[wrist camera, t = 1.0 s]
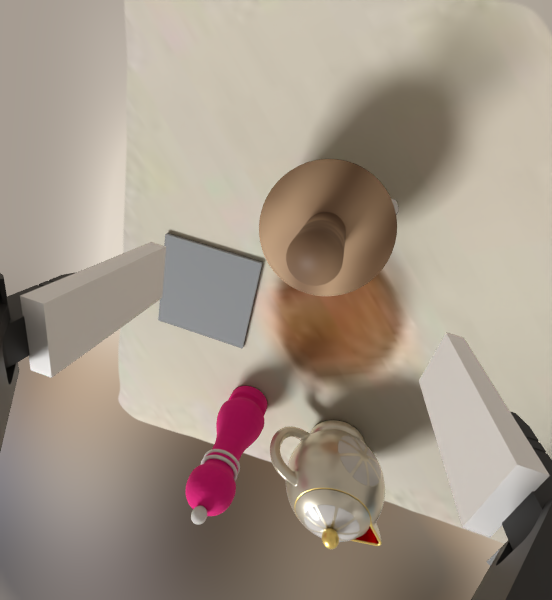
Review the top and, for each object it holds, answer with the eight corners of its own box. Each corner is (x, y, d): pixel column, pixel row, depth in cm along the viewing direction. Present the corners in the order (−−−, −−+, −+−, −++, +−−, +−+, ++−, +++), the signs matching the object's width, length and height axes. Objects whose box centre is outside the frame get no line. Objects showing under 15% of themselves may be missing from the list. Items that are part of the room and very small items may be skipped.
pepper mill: (273, 390, 51) (230, 514, 33) (266, 422, 54) (223, 552, 36) (231, 377, 52) (166, 491, 34) (226, 410, 55) (164, 530, 37)
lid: (418, 180, 28) (450, 188, 19) (366, 307, 34) (371, 361, 24) (278, 143, 29) (244, 134, 20) (251, 271, 35) (214, 310, 26)
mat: (262, 262, 43) (261, 263, 42) (243, 346, 49) (242, 348, 48) (167, 233, 44) (165, 234, 44) (160, 318, 50) (158, 320, 50)
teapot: (402, 439, 49) (423, 558, 34) (350, 483, 55) (348, 599, 40) (304, 377, 49) (283, 470, 34) (262, 428, 55) (228, 525, 40)
